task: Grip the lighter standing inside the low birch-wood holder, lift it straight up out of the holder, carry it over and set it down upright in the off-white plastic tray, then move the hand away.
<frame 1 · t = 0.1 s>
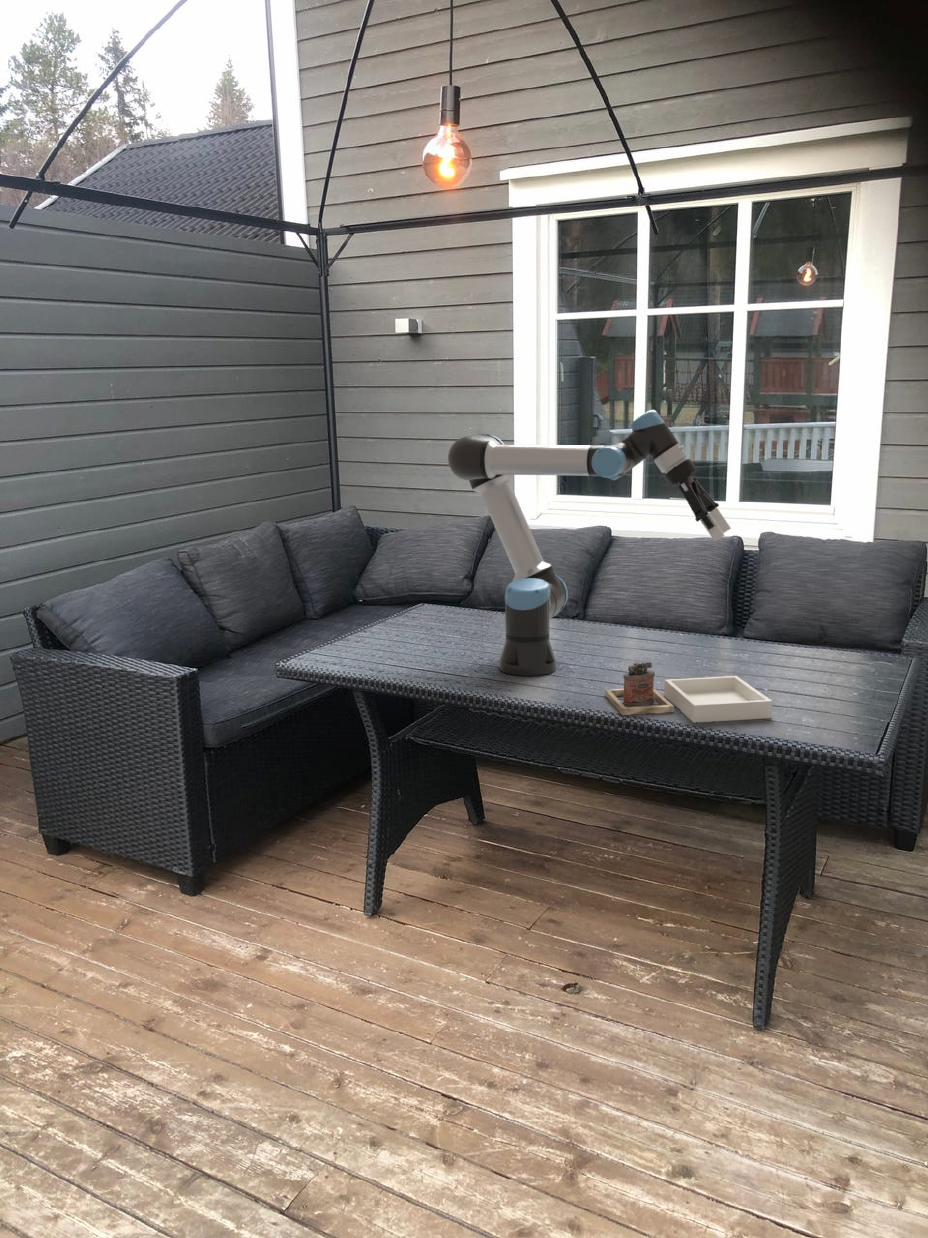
hand: (723, 535, 245), 36 cm above the table, tool tilted 35°, fingers open, 13 cm apart
tray: (715, 706, 225), on the table
holder: (638, 703, 227), on the table
lighter: (638, 704, 227), resting in holder
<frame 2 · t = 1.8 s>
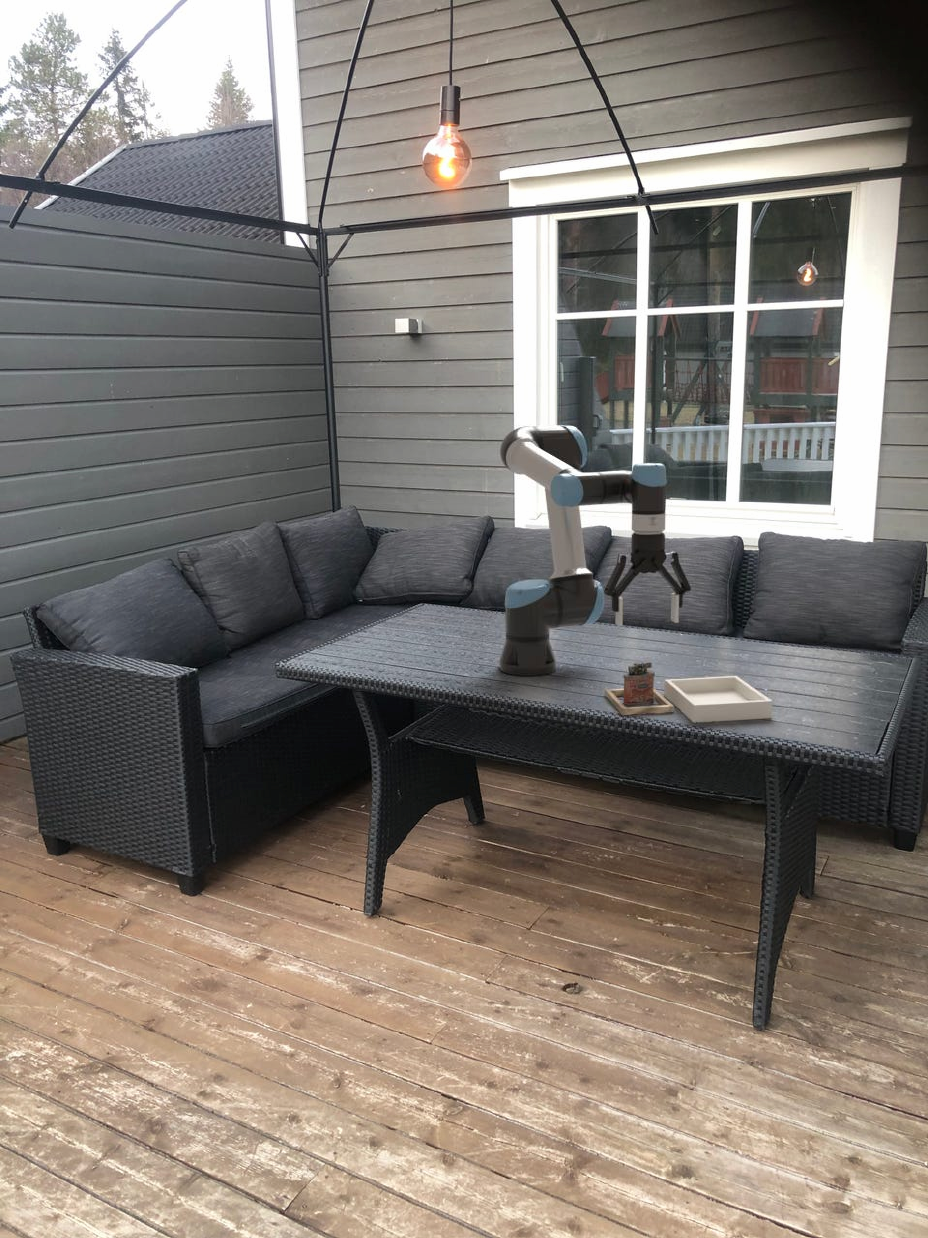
hand: (646, 623, 224), 19 cm above the table, tool pointing down, fingers open, 13 cm apart
nothing on the table moved.
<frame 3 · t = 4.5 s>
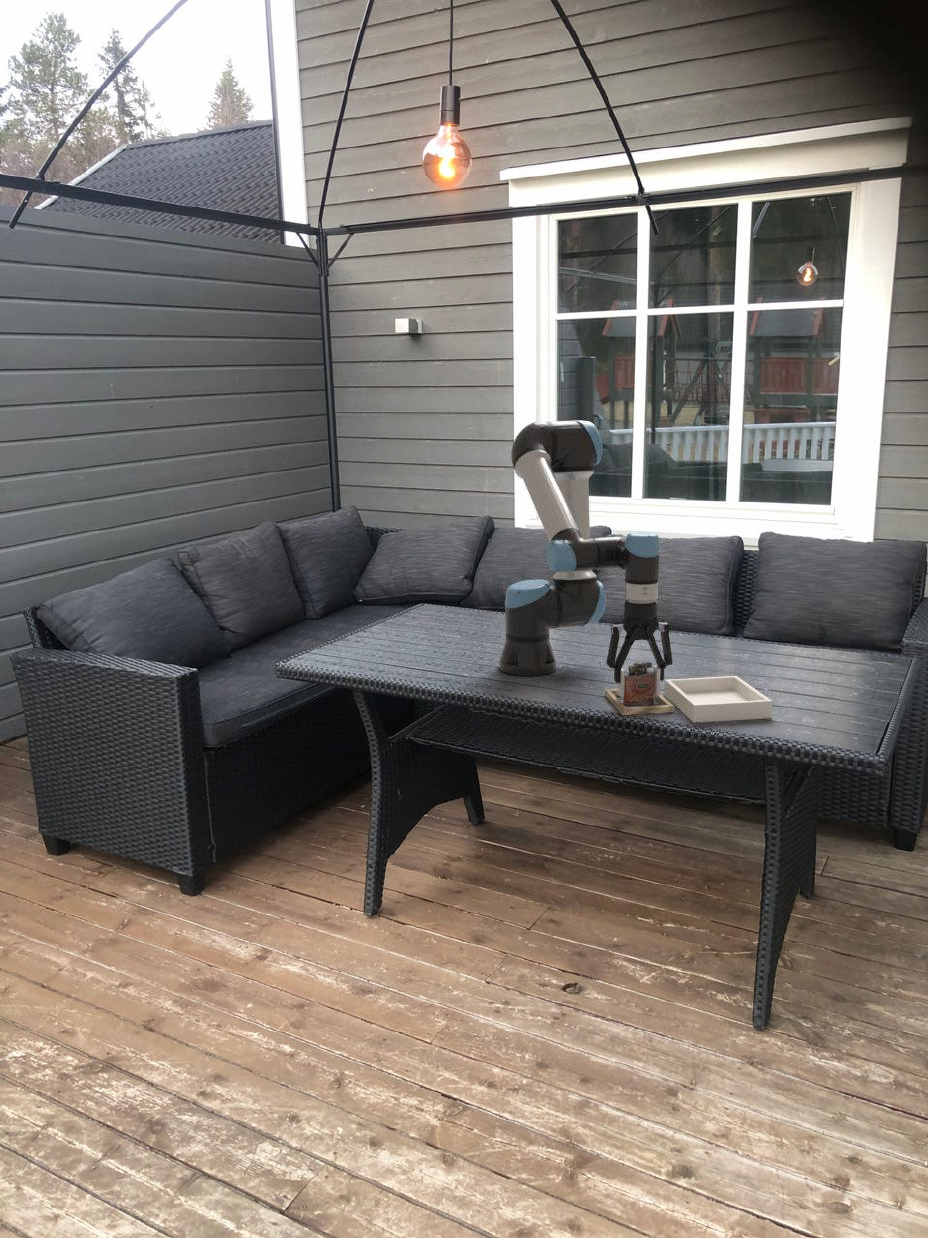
hand: (638, 694, 227), 2 cm above the table, tool pointing down, fingers closed on lighter, 8 cm apart
lighter: (638, 704, 227), resting in holder, touching gripper
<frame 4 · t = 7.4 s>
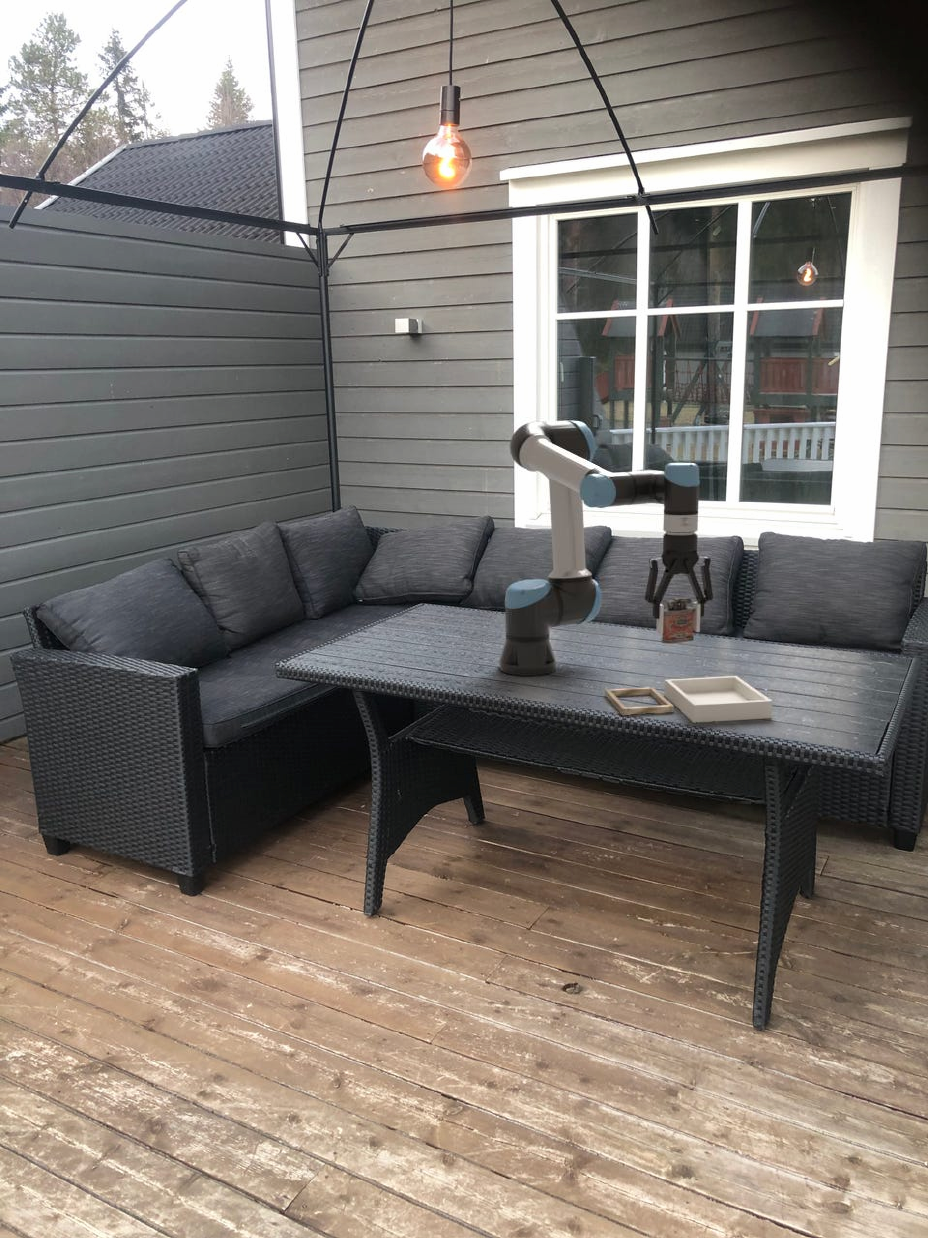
hand: (678, 631, 221), 18 cm above the table, tool pointing down, fingers closed on lighter, 8 cm apart
lighter: (677, 641, 222), point 15 cm above the table, touching gripper
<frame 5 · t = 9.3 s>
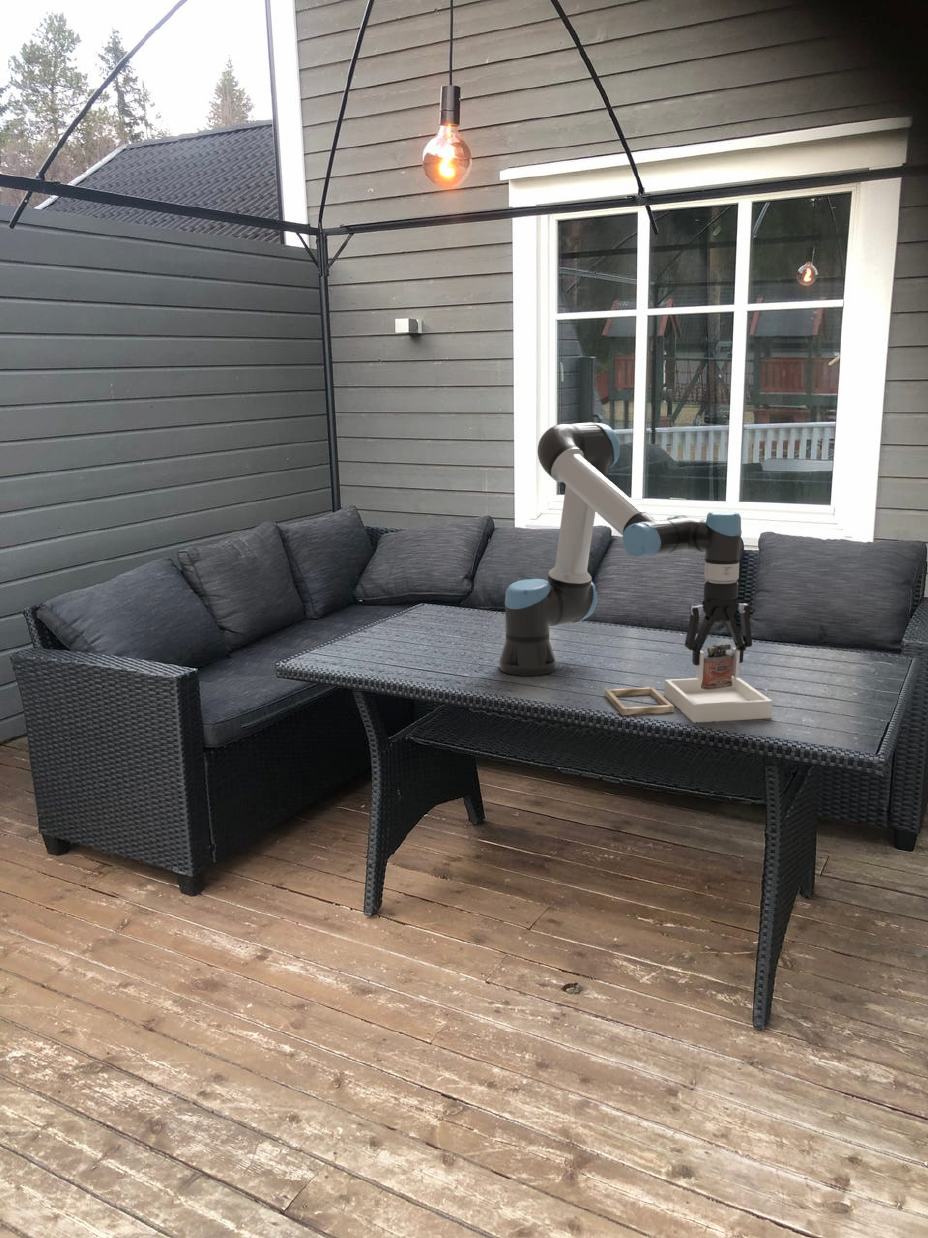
hand: (716, 677, 223), 7 cm above the table, tool pointing down, fingers closed on lighter, 8 cm apart
lighter: (716, 687, 223), point 5 cm above the table, touching gripper
when the fingers open (5 cm above the table, at t = 10.1 s): lighter drops 1 cm, resting on tray.
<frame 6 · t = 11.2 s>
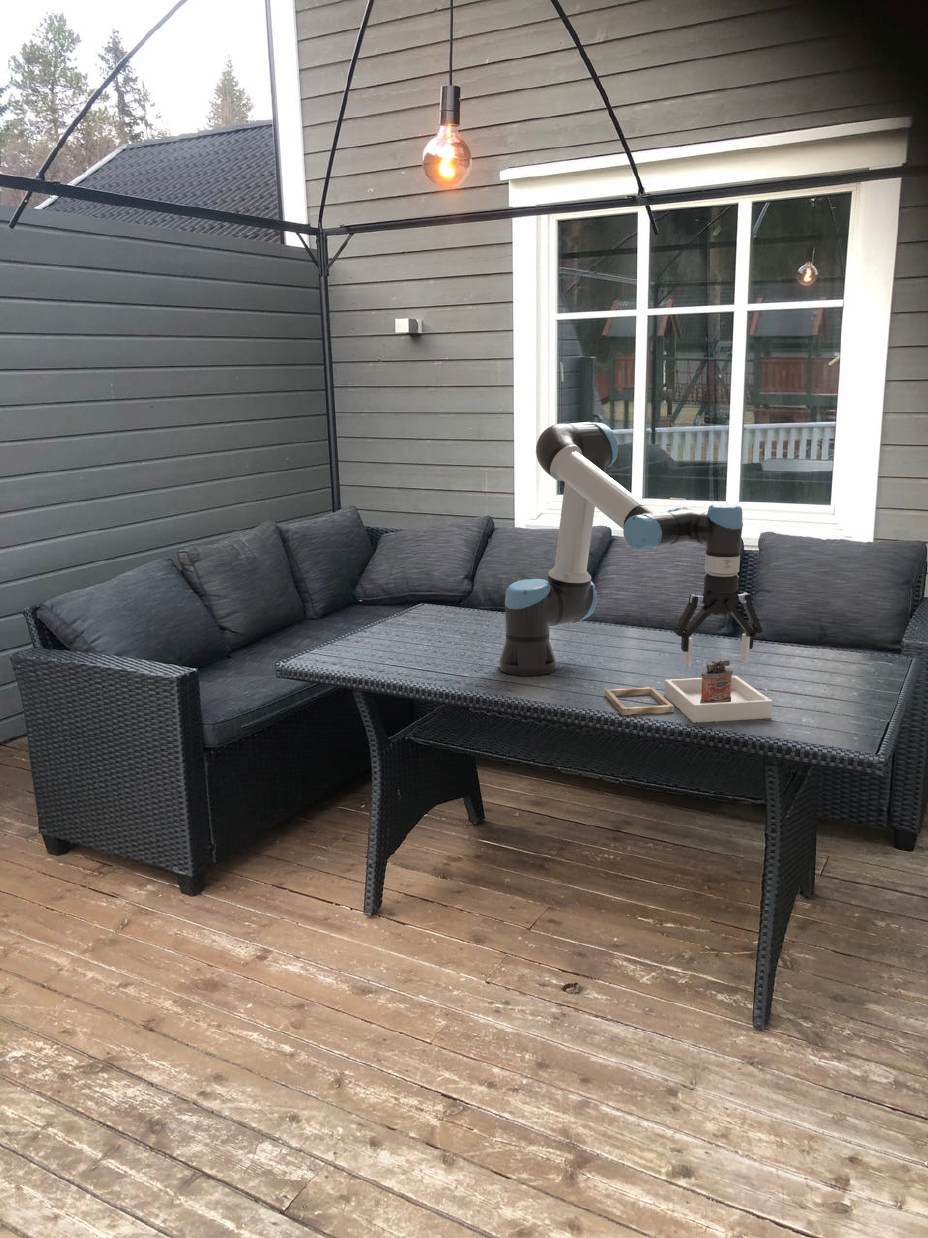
hand: (716, 663, 223), 10 cm above the table, tool pointing down, fingers open, 13 cm apart
lighter: (715, 703, 224), point 1 cm above the table, touching tray
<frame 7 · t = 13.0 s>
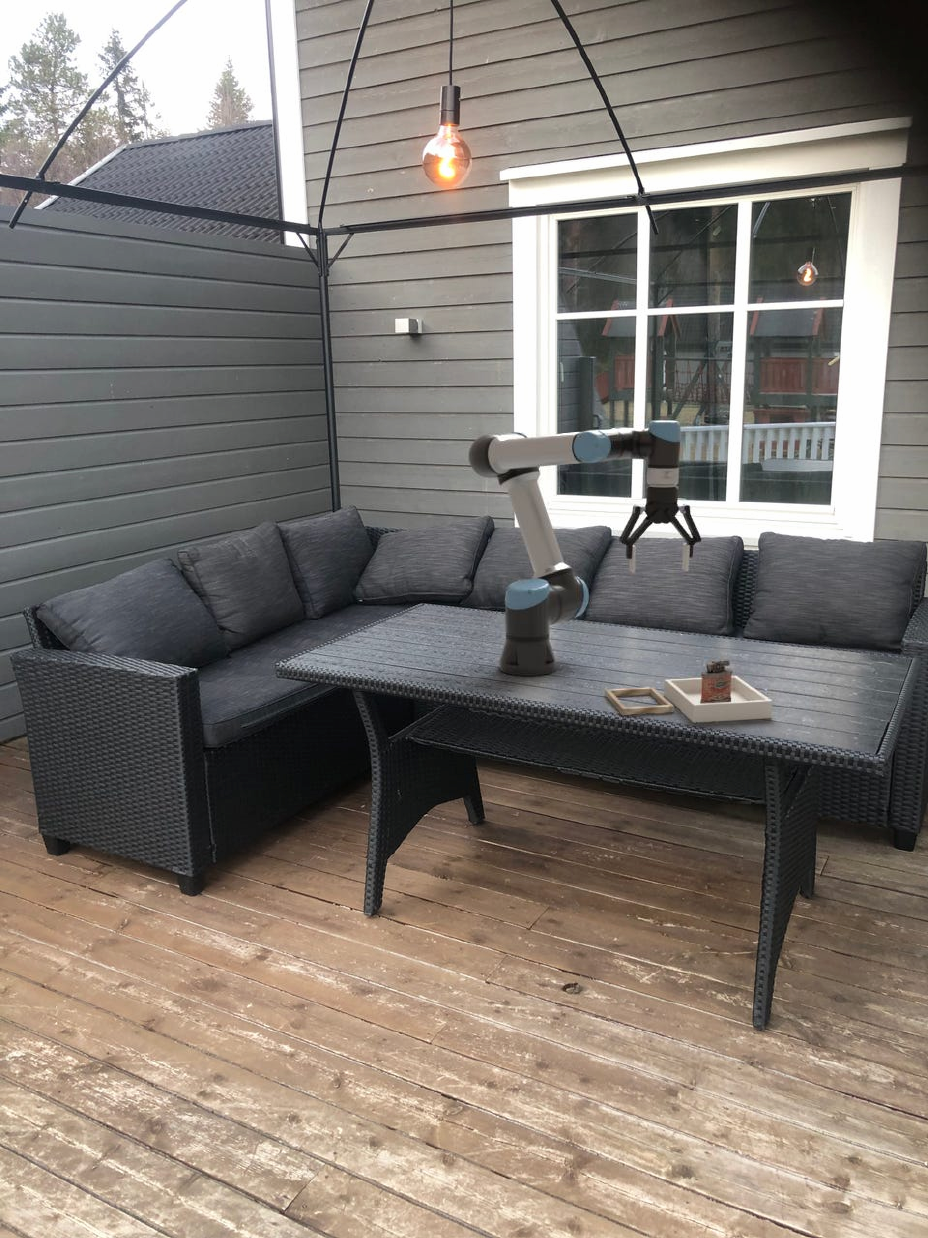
hand: (658, 571, 240), 28 cm above the table, tool pointing down, fingers open, 13 cm apart
nothing on the table moved.
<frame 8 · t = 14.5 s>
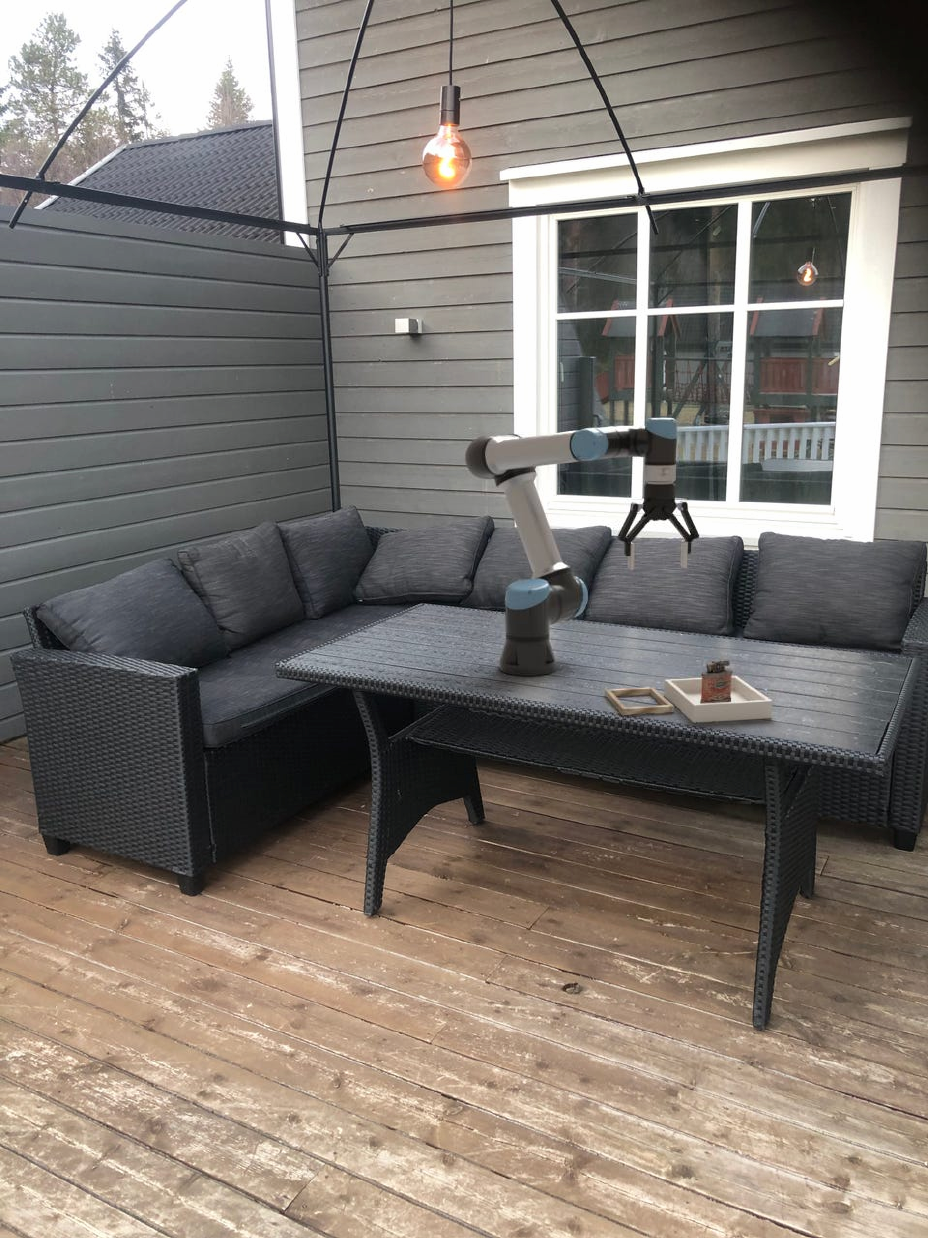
hand: (657, 568, 240), 29 cm above the table, tool pointing down, fingers open, 13 cm apart
nothing on the table moved.
at the end: lighter inside the target area on the tray (0.0 cm from its centre), point 0.8 cm above the tray's base; lighter tilted 0°; the gripper is holding nothing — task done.
